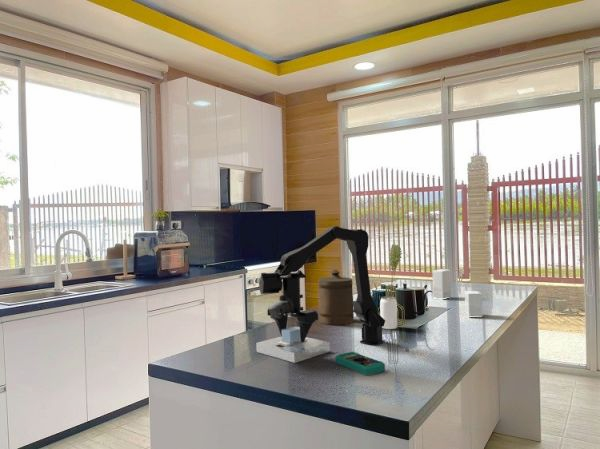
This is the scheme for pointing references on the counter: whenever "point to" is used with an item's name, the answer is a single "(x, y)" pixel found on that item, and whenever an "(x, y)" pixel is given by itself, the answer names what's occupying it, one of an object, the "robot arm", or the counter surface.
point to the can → (389, 312)
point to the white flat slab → (293, 349)
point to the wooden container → (335, 300)
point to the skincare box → (441, 283)
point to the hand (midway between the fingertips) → (292, 339)
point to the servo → (291, 337)
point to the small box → (473, 303)
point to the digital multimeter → (360, 363)
